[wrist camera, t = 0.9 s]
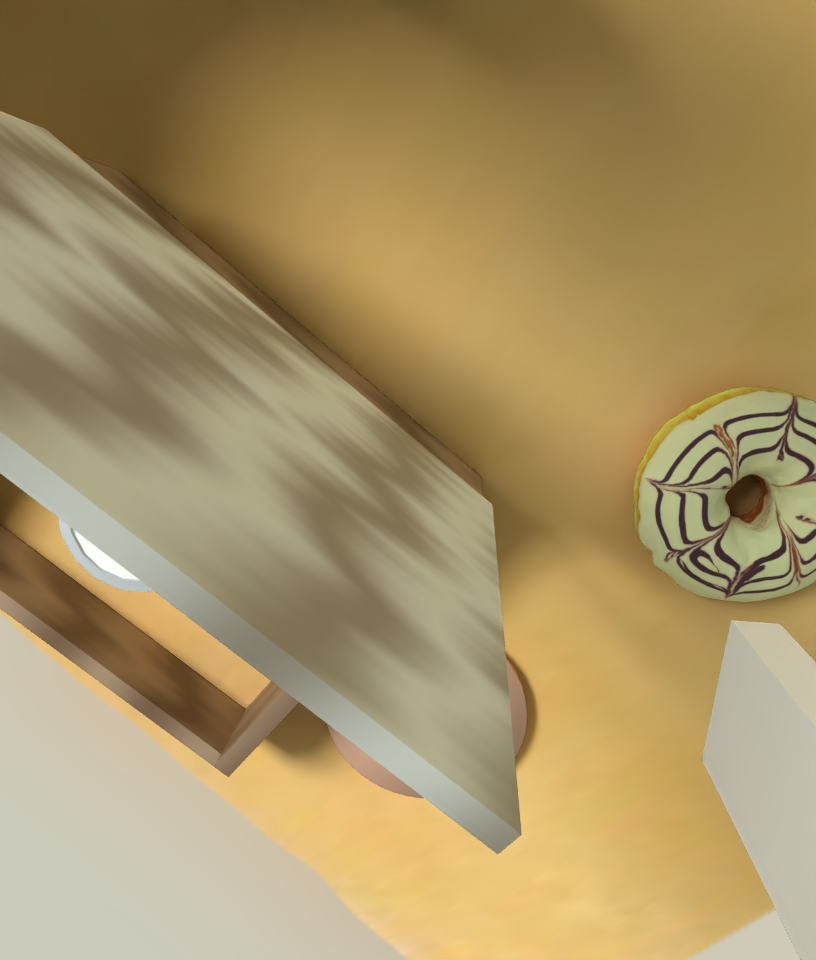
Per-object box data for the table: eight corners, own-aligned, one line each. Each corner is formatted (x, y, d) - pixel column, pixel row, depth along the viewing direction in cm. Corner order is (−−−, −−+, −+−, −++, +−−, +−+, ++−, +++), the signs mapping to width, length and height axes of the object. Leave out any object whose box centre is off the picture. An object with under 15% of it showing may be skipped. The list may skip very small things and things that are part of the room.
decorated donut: (683, 613, 35) (706, 649, 32) (587, 454, 33) (601, 473, 30) (871, 521, 33) (920, 549, 29) (779, 344, 31) (820, 350, 27)
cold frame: (-72, 487, 37) (-934, 788, 15) (124, 159, 31) (-840, -220, 8) (248, 729, 40) (-55, 1311, 17) (489, 469, 34) (521, 834, 11)
